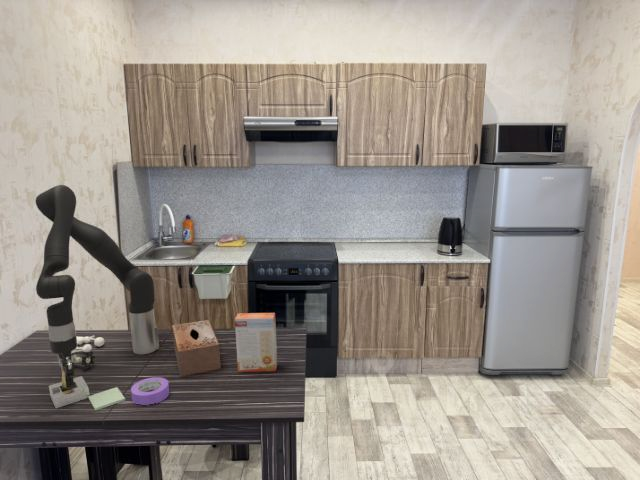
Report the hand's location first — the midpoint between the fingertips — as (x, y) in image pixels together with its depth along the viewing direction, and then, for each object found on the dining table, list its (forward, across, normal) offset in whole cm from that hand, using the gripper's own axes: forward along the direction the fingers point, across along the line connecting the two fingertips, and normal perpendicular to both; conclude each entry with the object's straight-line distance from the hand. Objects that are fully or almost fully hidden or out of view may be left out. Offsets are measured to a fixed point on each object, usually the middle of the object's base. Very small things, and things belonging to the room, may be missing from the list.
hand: (69, 384), depth 149 cm
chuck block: (+5, -1, 0) cm, 5 cm away
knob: (+3, 0, -1) cm, 3 cm away
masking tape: (+5, +17, +21) cm, 27 cm away
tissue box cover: (+5, +1, +44) cm, 44 cm away
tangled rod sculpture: (+5, -39, +10) cm, 41 cm away
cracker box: (+4, +24, +58) cm, 63 cm away
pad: (+5, +10, +9) cm, 14 cm away
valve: (+5, -22, +6) cm, 23 cm away
